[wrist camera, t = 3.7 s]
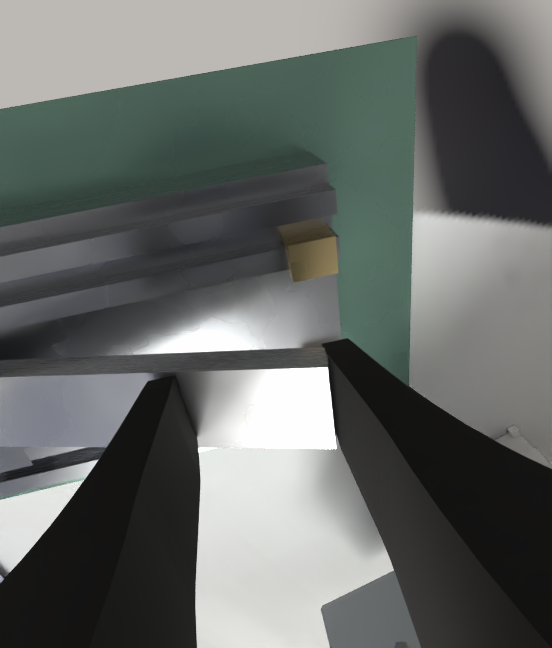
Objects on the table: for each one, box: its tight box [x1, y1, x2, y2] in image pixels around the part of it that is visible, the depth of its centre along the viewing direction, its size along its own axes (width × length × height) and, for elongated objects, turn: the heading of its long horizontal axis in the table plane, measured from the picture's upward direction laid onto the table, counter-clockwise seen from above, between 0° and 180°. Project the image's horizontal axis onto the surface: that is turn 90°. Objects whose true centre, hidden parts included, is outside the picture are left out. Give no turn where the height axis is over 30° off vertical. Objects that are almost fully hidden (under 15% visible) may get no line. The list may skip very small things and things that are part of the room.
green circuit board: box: [0, 36, 417, 500], centre depth 13 cm, size 18×13×4 cm
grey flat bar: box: [0, 347, 336, 449], centre depth 10 cm, size 10×3×1 cm, turn 99°
